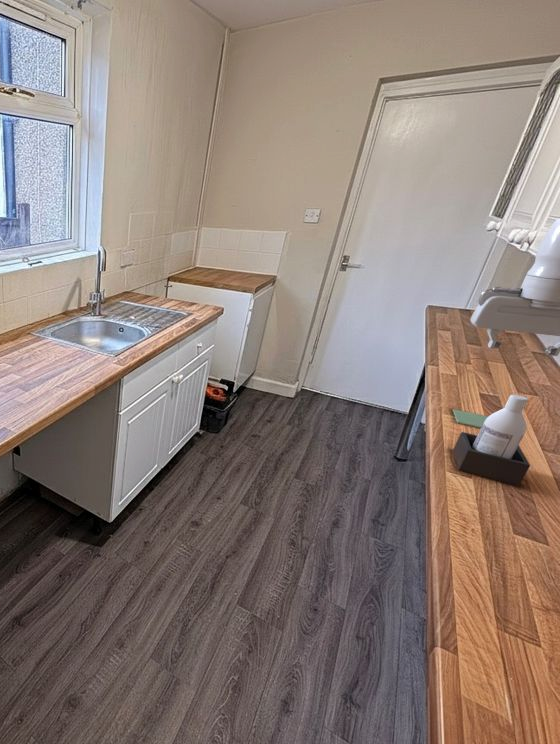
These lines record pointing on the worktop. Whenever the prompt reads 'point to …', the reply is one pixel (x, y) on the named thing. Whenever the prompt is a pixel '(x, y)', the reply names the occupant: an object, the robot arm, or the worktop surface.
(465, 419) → the mat
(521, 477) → the holder
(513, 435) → the bath foam
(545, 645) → the worktop surface
